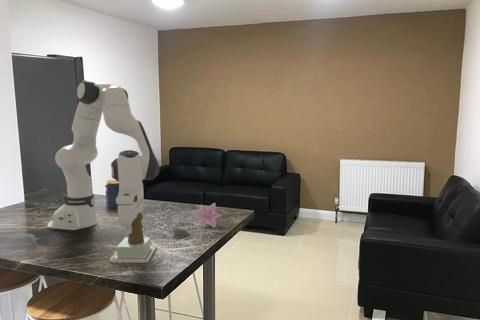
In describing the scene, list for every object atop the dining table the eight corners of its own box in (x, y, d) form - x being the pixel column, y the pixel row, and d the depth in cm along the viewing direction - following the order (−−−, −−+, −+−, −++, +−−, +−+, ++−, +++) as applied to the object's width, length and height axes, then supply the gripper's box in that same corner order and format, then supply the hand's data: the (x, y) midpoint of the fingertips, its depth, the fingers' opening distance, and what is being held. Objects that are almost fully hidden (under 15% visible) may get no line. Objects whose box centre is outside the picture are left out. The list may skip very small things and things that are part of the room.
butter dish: (110, 262, 145) (109, 249, 144) (122, 247, 158) (121, 235, 158) (147, 262, 144) (147, 249, 143) (156, 247, 158) (156, 235, 157)
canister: (126, 209, 212) (124, 177, 209) (102, 209, 212) (100, 177, 209) (133, 202, 224) (131, 172, 222) (110, 202, 225) (109, 172, 222)
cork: (129, 239, 153) (128, 211, 153) (144, 238, 154) (144, 211, 154) (126, 243, 147) (126, 214, 147) (143, 242, 148) (142, 213, 148)
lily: (190, 226, 187) (190, 212, 181) (203, 211, 195) (204, 197, 189) (211, 237, 183) (212, 223, 177) (224, 221, 192) (225, 207, 186)
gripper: (131, 187, 157) (133, 220, 160) (113, 200, 137) (116, 238, 139) (147, 187, 157) (148, 220, 159) (131, 200, 137) (133, 238, 139)
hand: (133, 228), depth 149 cm, fingers open, 8 cm apart
